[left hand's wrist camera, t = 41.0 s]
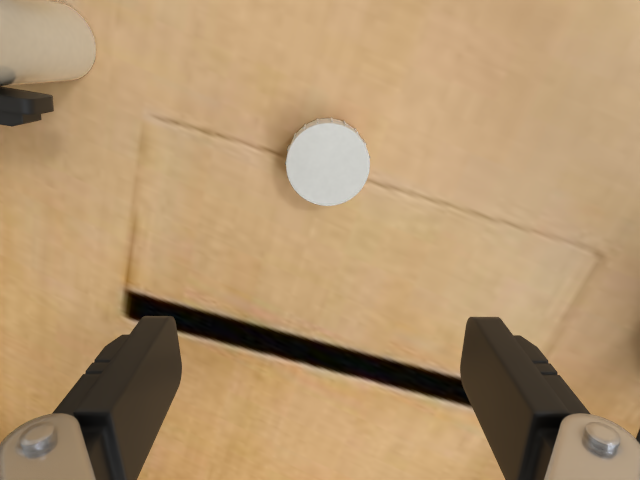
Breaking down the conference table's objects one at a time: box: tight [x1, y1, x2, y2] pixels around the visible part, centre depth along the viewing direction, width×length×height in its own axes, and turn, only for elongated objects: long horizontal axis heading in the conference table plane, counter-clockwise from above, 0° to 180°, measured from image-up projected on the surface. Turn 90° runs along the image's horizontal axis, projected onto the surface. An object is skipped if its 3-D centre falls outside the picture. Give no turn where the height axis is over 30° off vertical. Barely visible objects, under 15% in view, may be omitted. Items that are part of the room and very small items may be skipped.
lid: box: [285, 117, 370, 206], centre depth 26 cm, size 5×5×2 cm
